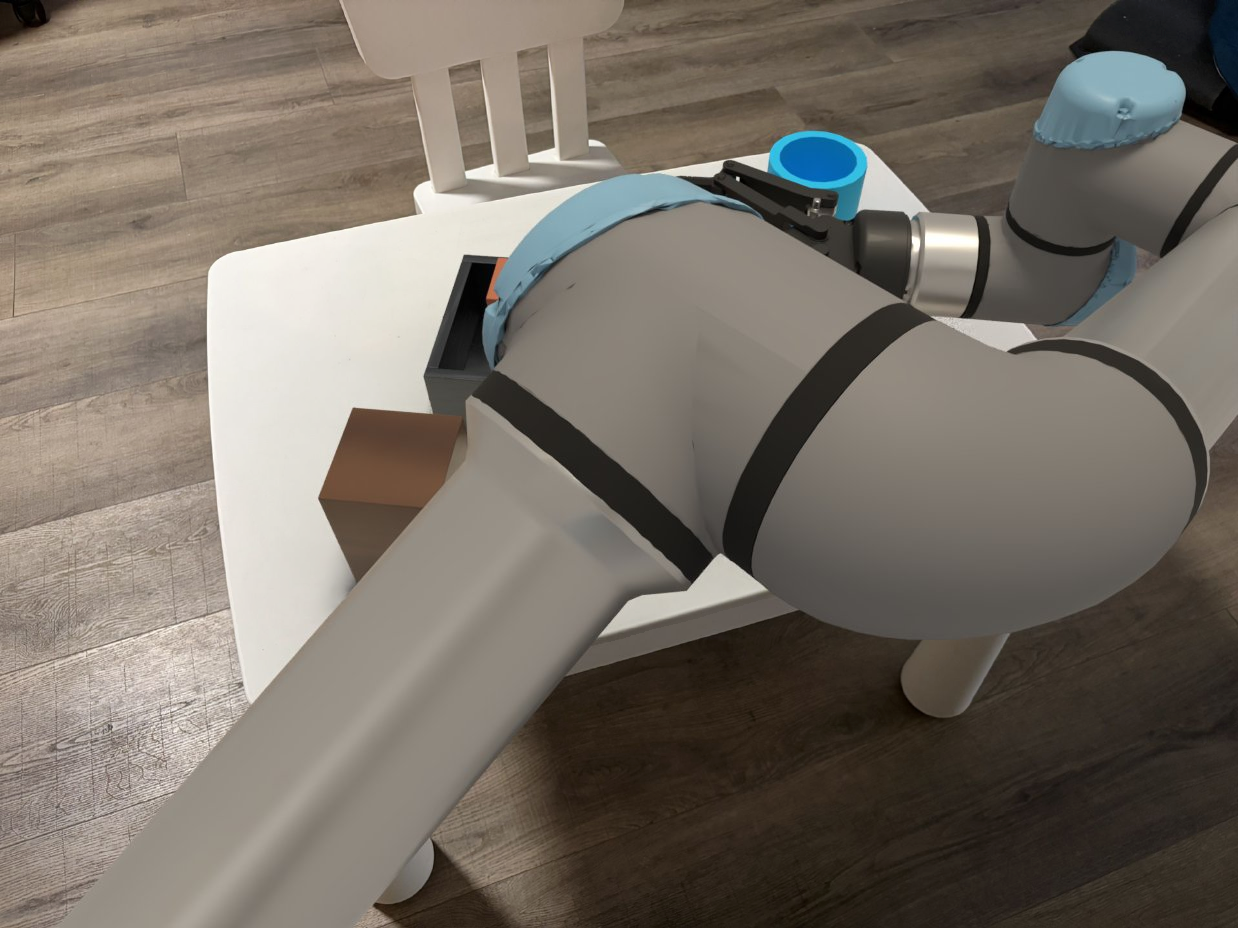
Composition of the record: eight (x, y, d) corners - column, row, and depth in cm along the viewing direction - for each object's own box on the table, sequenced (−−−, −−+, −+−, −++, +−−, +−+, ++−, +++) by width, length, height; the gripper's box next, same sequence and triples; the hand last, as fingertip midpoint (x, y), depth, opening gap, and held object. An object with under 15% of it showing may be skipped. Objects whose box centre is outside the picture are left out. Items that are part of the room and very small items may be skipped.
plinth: (463, 600, 71) (436, 508, 61) (359, 590, 71) (317, 498, 62) (484, 513, 75) (463, 415, 66) (387, 504, 76) (352, 406, 67)
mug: (824, 201, 99) (838, 123, 92) (866, 254, 94) (885, 176, 87) (706, 230, 97) (711, 152, 90) (742, 286, 91) (752, 208, 84)
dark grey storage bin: (611, 446, 80) (609, 390, 74) (437, 432, 81) (422, 376, 75) (630, 323, 89) (630, 265, 83) (474, 311, 90) (463, 254, 84)
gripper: (904, 423, 66) (602, 400, 67) (883, 202, 81) (637, 188, 83) (931, 347, 60) (598, 324, 61) (903, 124, 75) (637, 110, 77)
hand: (620, 246), depth 72 cm, fingers open, 13 cm apart
